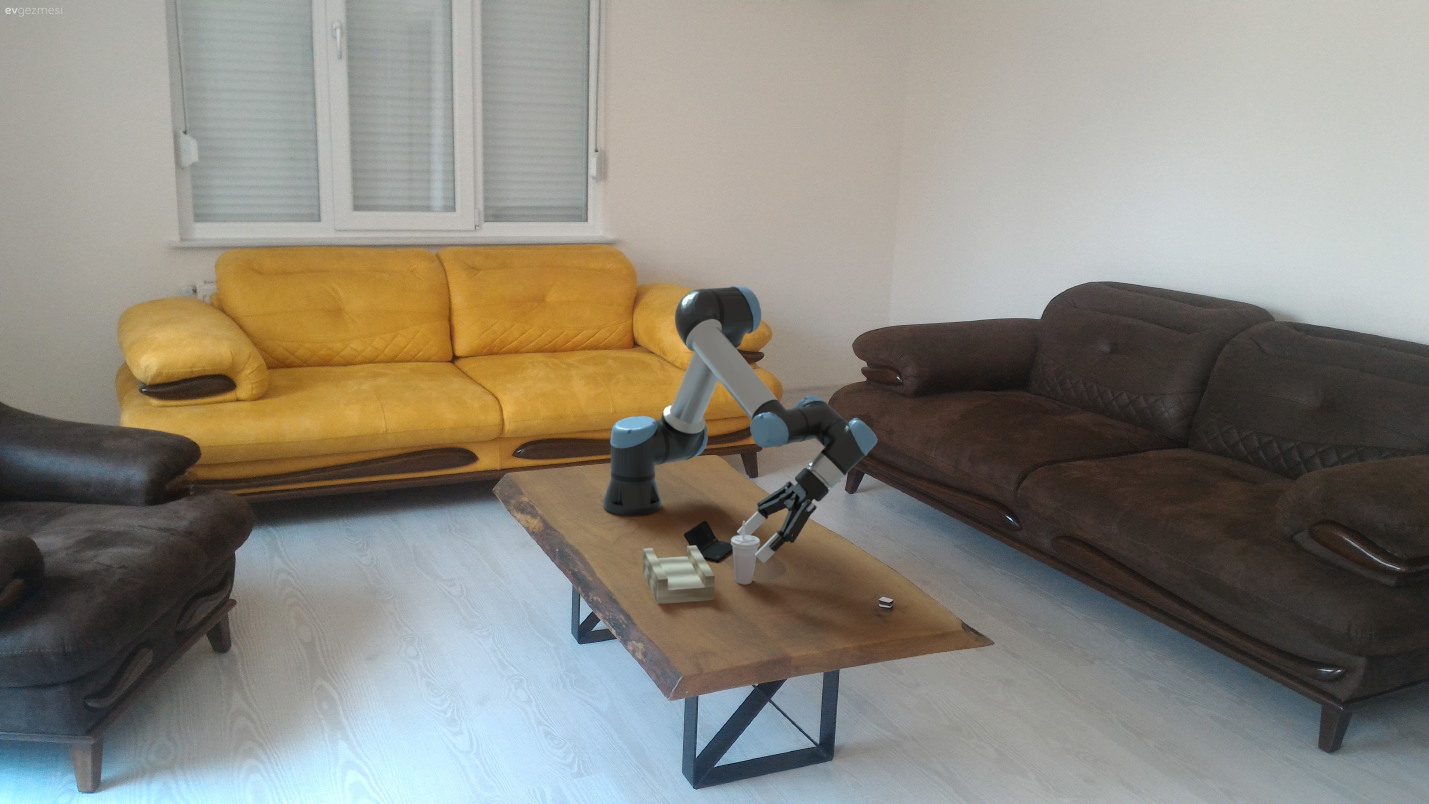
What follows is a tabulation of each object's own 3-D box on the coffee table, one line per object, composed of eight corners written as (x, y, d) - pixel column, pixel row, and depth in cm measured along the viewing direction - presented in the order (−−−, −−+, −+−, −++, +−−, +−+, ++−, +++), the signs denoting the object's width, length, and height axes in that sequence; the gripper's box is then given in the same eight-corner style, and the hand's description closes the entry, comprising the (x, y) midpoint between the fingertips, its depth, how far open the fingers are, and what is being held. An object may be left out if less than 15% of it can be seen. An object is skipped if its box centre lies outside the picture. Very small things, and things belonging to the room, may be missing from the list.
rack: (642, 571, 227) (643, 548, 226) (695, 568, 230) (695, 545, 229) (657, 604, 211) (658, 579, 210) (713, 599, 214) (714, 575, 213)
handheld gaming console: (726, 557, 233) (704, 520, 234) (701, 572, 235) (679, 535, 236) (740, 547, 244) (719, 511, 245) (716, 561, 246) (695, 525, 247)
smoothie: (727, 574, 227) (730, 515, 224) (756, 574, 228) (759, 515, 225) (730, 586, 221) (733, 526, 218) (760, 586, 222) (763, 526, 218)
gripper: (850, 507, 212) (778, 580, 212) (809, 471, 236) (744, 537, 235) (828, 484, 210) (755, 558, 209) (789, 450, 233) (723, 516, 233)
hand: (749, 547), depth 222 cm, fingers open, 13 cm apart
